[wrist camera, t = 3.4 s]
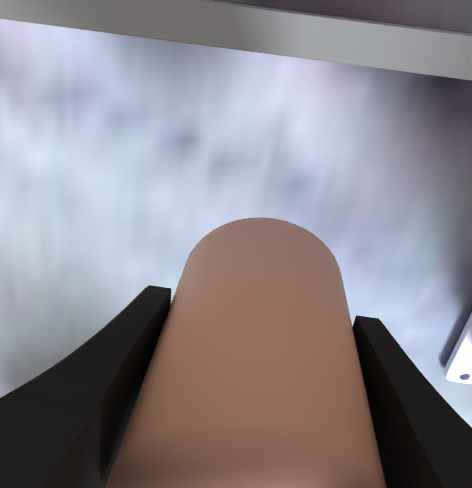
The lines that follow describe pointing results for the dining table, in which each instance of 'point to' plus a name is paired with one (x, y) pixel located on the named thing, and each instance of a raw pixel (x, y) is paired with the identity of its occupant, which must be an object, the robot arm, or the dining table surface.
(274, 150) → the dining table surface
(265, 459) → the terracotta cylinder
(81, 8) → the grey long flat bar
